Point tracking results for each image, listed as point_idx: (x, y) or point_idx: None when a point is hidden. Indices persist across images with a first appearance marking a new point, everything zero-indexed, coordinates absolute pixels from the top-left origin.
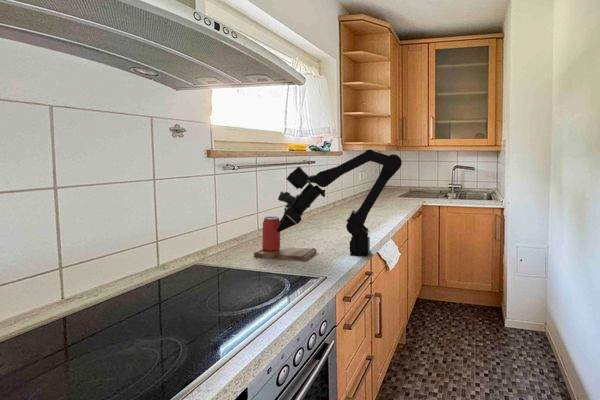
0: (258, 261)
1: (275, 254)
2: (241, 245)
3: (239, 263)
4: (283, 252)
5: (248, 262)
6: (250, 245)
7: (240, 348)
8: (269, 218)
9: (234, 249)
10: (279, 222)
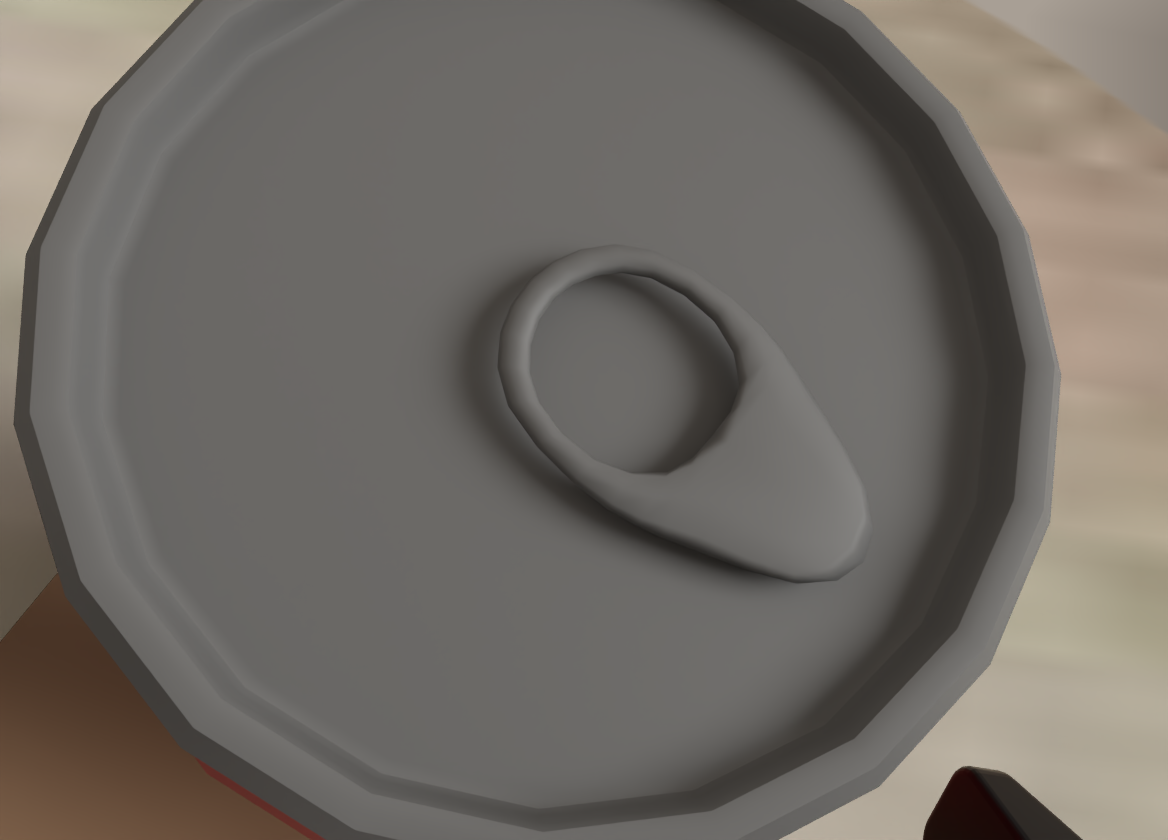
0: (17, 284)
1: (47, 593)
2: (1154, 190)
3: (27, 10)
4: (160, 796)
5: (26, 133)
6: (1146, 313)
7: None
8: (653, 215)
9: (919, 70)
10: (313, 835)
